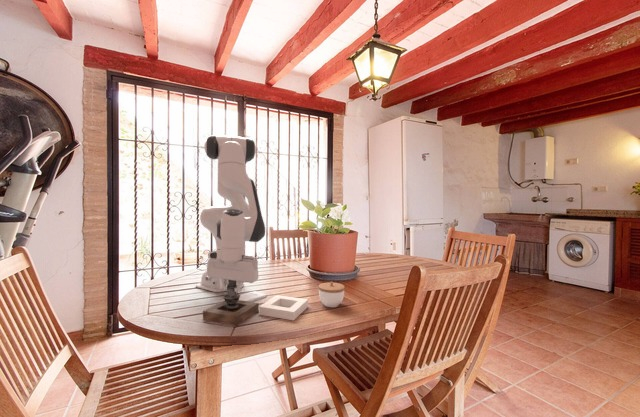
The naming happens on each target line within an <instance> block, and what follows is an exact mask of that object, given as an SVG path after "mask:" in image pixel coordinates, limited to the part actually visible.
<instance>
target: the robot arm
mask: <svg viewBox="0 0 640 417" xmlns="http://www.w3.org/2000/svg"><path fill="white" fill-rule="evenodd" d="M256 146H257V145H256V143H255V141H254V140H253V139H252V138H248V137H242V136H236V135H216V134H213V135H209V136H207V137H206V140H205V142H204V151H205V154H206V157H208V158H209V159H212V160H217V193H218V195H219V196H220V197H222V198H223V199H225V200H227V201H229V202H230V205H213V206H207V207H204V208H203V209H202V211H201V212H200V217H199V219H200V223H201V225H202V226H203V228H205V229H207V230H208V231H209V232H210V233H211V234H212V235H213V238H214V240H215V246H216V250H213V251H209V252H208V253H207V258H208V260H207V264H206V270H205V271H204V272H203V273H202V276H201V279H200V280H201V281H198V283H196V284H195V288H198V289H202V290H205V291H206V290H207V291H209V292H213V293H221V292H228V287H227V286H228V280H234V281H236V285H237V287H235V291H234V292H236V293H237V294H239V293H240V292H241V290H242V288H244V286H245V285H244V283H249V284H253V283H256V282H257V281H258V280H259V268H258V264H259V262H258V261H259V260H257V258H256V257H255V256H253V255H252V256H249V255H246V242H250V243H252V242H253V243H258V242H260V241H261V240H262V239H263V238H264V237H265V235H266V225H265V221H264V218H263V215H262V211H261V210H262V209H261V205H260V202H259V197H258V192H257V188H256V185H255V182H254V180H253V179H251V178H250V177H249V176H248V174H247V170H246V164H247V163H248V162H251V161H252V160H253V159H254V158H255V156H256V151H257V147H256ZM245 197H246V199H247V201H246V199H245Z"/></svg>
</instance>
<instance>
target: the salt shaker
mask: <svg viewBox="0 0 640 417" xmlns="http://www.w3.org/2000/svg"><path fill="white" fill-rule="evenodd" d="M227 287H228V291H227V293H226V294H224V295H223V299H224V300H225V302H226V303H227V304H225V305H224V307H225V308H229V309H231V308H237V307H238V306H239V304H237V302H238V300H239V297H240V295H241V294H239V293H236V292H234V291H235V287H237V285H236V281H234V280H228V286H227ZM224 300H223V301H224Z"/></svg>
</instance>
